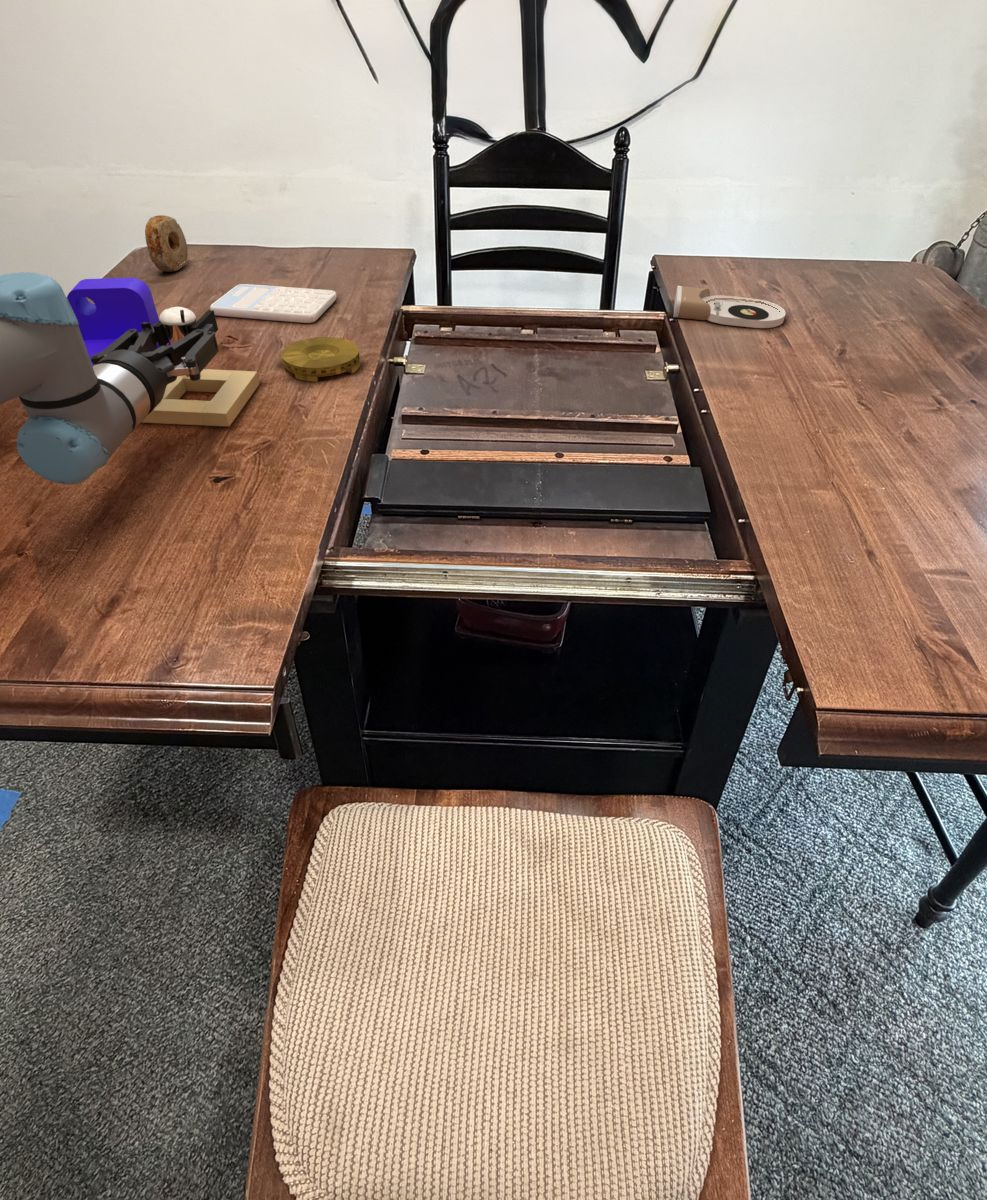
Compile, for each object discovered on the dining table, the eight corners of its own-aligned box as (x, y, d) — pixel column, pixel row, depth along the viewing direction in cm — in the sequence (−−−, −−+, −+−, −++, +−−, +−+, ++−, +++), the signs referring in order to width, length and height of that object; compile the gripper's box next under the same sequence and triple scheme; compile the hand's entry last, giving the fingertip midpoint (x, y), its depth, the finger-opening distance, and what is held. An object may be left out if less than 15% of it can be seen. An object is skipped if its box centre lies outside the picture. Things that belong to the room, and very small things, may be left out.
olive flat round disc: (372, 371, 112) (371, 357, 111) (299, 387, 107) (297, 374, 106) (342, 344, 120) (341, 331, 118) (273, 359, 115) (271, 346, 113)
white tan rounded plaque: (677, 282, 136) (785, 292, 134) (674, 299, 138) (780, 309, 136) (676, 303, 128) (791, 315, 125) (673, 320, 130) (785, 332, 127)
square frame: (133, 422, 99) (128, 409, 97) (172, 379, 109) (169, 367, 107) (229, 426, 98) (226, 413, 97) (260, 383, 108) (257, 371, 107)
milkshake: (182, 386, 98) (163, 312, 91) (170, 372, 101) (151, 300, 95) (215, 379, 100) (199, 306, 94) (202, 365, 103) (185, 294, 97)
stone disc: (169, 278, 143) (154, 224, 137) (152, 276, 144) (136, 222, 137) (195, 262, 151) (182, 210, 144) (179, 261, 151) (165, 209, 145)
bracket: (99, 355, 115) (71, 279, 107) (169, 352, 116) (146, 277, 108) (64, 406, 102) (29, 324, 94) (143, 402, 103) (115, 321, 95)
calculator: (314, 324, 126) (312, 313, 125) (208, 316, 128) (206, 305, 127) (339, 299, 136) (337, 288, 135) (240, 291, 138) (238, 281, 137)
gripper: (60, 418, 86) (144, 343, 104) (201, 424, 85) (261, 347, 103) (34, 358, 81) (126, 290, 99) (183, 364, 80) (250, 294, 98)
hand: (195, 319), depth 101 cm, fingers closed on milkshake, 4 cm apart
